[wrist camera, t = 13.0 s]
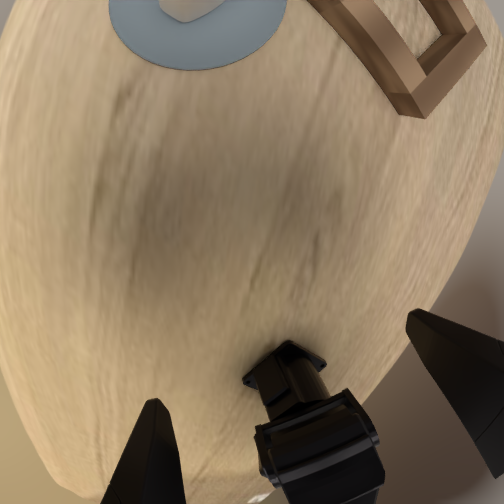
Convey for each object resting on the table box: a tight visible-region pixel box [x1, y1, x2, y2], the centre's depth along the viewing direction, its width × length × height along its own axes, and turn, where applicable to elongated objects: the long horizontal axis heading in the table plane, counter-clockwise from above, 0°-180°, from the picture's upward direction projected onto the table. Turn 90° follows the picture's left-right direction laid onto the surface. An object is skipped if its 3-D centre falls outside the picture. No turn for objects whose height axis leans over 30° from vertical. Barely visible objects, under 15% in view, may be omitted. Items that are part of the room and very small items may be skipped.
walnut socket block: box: [307, 0, 487, 119], centre depth 14 cm, size 12×12×3 cm
